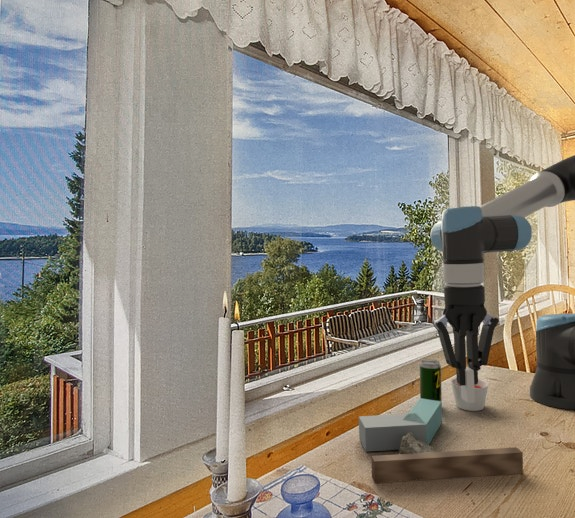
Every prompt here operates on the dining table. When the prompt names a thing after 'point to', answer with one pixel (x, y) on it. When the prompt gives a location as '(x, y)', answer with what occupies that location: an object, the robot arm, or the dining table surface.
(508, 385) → the dining table surface
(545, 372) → the robot arm
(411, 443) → the rock sample
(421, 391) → the beer can
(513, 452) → the walnut wall
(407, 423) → the grey teal angled block
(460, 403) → the white cup
